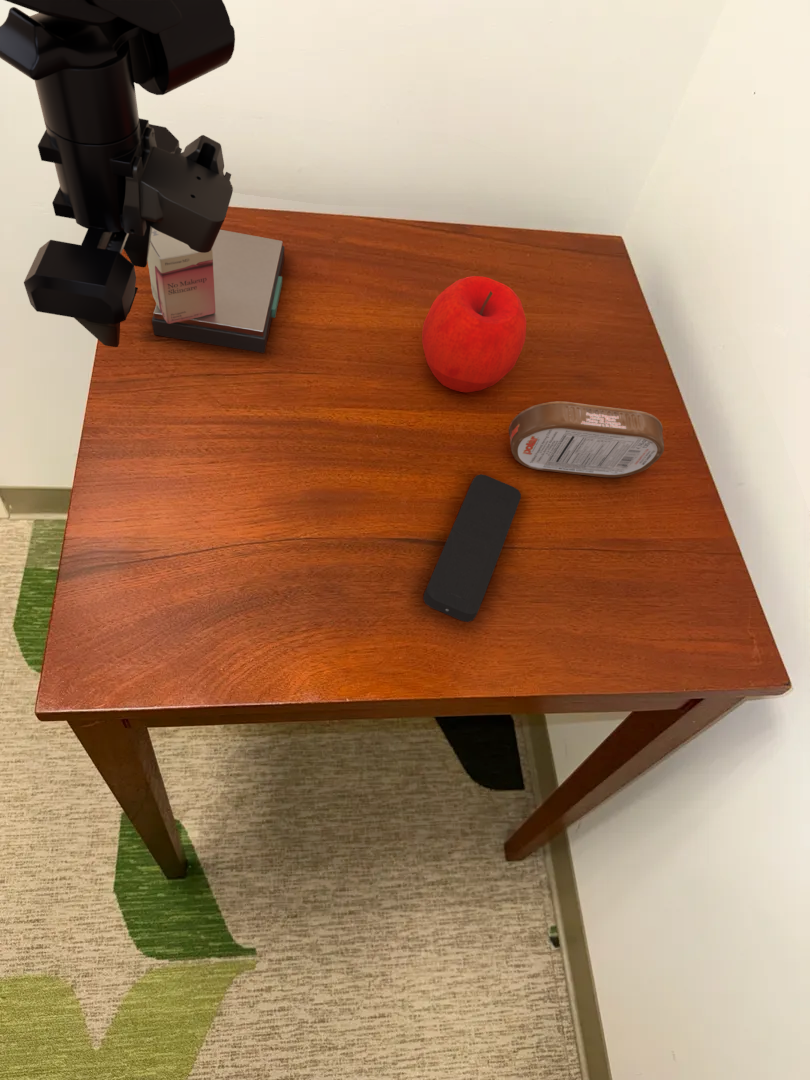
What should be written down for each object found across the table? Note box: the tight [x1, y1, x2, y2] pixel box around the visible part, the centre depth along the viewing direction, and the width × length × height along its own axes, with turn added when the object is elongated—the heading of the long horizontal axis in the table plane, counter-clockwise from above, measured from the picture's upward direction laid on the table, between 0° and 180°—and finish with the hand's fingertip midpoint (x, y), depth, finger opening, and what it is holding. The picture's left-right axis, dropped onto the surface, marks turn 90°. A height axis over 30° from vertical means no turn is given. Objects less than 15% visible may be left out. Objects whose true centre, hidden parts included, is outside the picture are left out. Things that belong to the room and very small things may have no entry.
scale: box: [151, 229, 285, 354], centre depth 79 cm, size 11×14×3 cm
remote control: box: [422, 474, 522, 623], centre depth 70 cm, size 5×2×15 cm
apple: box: [421, 275, 528, 393], centre depth 75 cm, size 10×10×12 cm
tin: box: [508, 400, 665, 479], centre depth 73 cm, size 15×3×8 cm, turn 90°
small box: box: [147, 228, 215, 324], centre depth 72 cm, size 5×4×8 cm
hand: (126, 303), depth 62 cm, fingers open, 9 cm apart
